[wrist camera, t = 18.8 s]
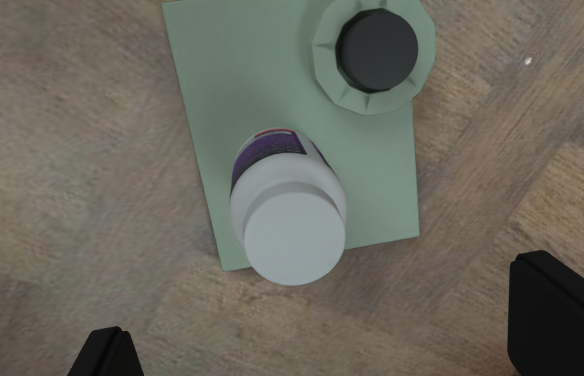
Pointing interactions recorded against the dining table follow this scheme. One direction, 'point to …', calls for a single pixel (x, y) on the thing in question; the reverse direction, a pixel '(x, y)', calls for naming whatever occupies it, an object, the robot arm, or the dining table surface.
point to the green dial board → (299, 103)
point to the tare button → (379, 51)
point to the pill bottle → (287, 207)
